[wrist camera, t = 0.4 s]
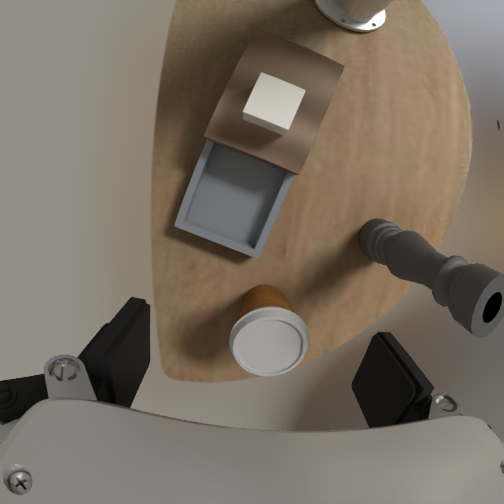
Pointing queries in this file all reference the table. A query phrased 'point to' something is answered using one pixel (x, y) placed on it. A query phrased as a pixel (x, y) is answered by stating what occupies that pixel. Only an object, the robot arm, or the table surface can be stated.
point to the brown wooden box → (289, 70)
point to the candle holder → (439, 275)
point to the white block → (273, 103)
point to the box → (233, 199)
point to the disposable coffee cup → (268, 333)
